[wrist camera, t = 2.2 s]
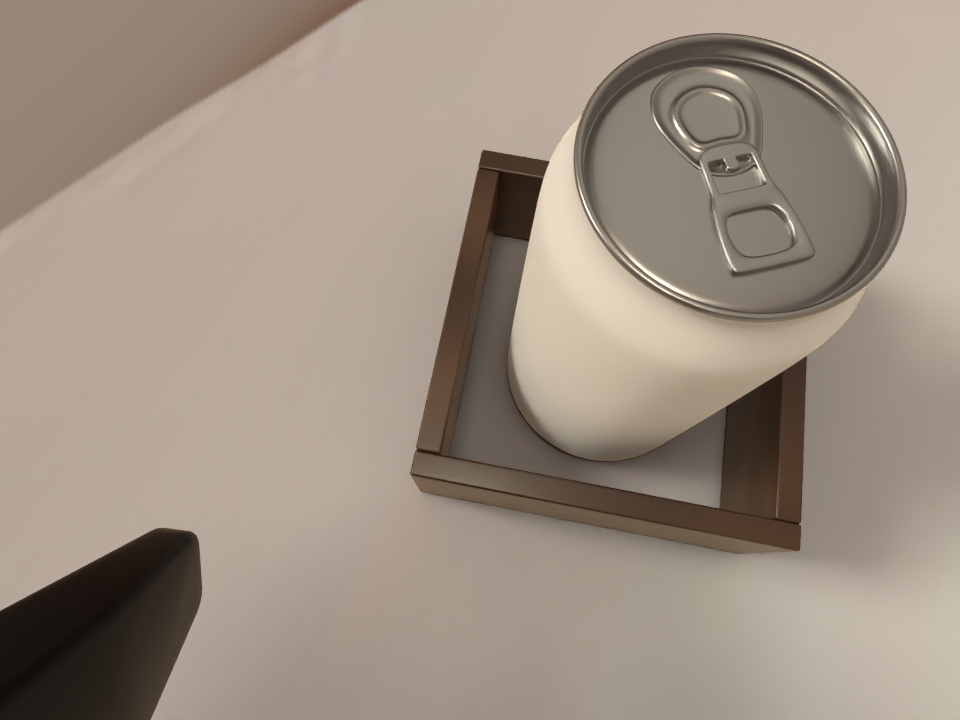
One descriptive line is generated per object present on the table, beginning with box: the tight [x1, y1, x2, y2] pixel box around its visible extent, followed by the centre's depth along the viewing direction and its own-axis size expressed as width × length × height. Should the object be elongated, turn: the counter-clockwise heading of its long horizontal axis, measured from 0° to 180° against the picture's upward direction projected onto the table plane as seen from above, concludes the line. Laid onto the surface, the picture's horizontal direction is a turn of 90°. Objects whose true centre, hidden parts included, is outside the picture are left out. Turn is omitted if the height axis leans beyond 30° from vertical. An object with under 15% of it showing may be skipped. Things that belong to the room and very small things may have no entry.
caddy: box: [410, 150, 807, 554], centre depth 20 cm, size 10×10×4 cm
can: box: [507, 33, 907, 461], centre depth 16 cm, size 6×6×12 cm
